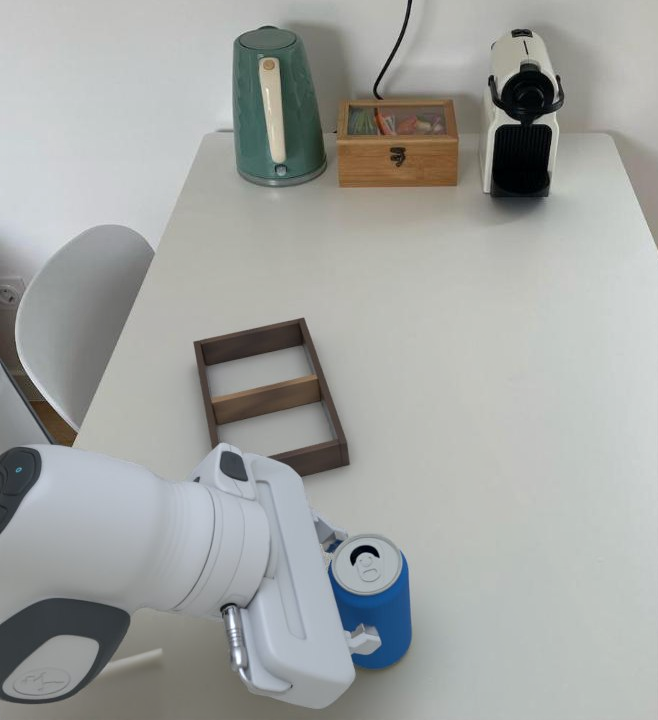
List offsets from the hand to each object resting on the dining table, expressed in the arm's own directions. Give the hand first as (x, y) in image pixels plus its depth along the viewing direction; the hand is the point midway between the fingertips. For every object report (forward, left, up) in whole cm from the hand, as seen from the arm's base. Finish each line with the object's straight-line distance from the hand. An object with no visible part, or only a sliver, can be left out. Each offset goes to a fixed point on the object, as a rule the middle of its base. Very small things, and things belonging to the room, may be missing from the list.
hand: (358, 589), depth 66 cm
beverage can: (+1, 0, -9) cm, 9 cm away
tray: (-3, +31, -9) cm, 32 cm away
